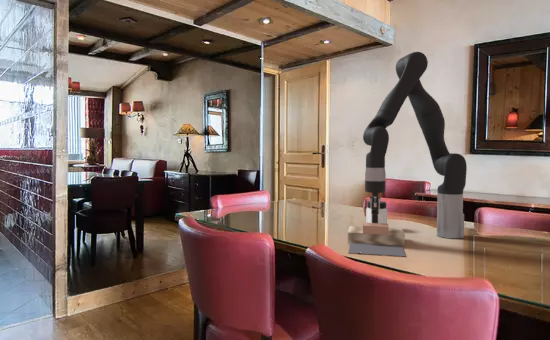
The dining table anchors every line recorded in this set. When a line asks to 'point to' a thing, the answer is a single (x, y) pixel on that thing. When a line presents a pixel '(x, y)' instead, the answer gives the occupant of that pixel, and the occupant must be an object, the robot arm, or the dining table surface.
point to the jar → (382, 213)
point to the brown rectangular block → (375, 228)
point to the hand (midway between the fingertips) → (374, 224)
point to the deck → (376, 237)
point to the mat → (377, 249)
